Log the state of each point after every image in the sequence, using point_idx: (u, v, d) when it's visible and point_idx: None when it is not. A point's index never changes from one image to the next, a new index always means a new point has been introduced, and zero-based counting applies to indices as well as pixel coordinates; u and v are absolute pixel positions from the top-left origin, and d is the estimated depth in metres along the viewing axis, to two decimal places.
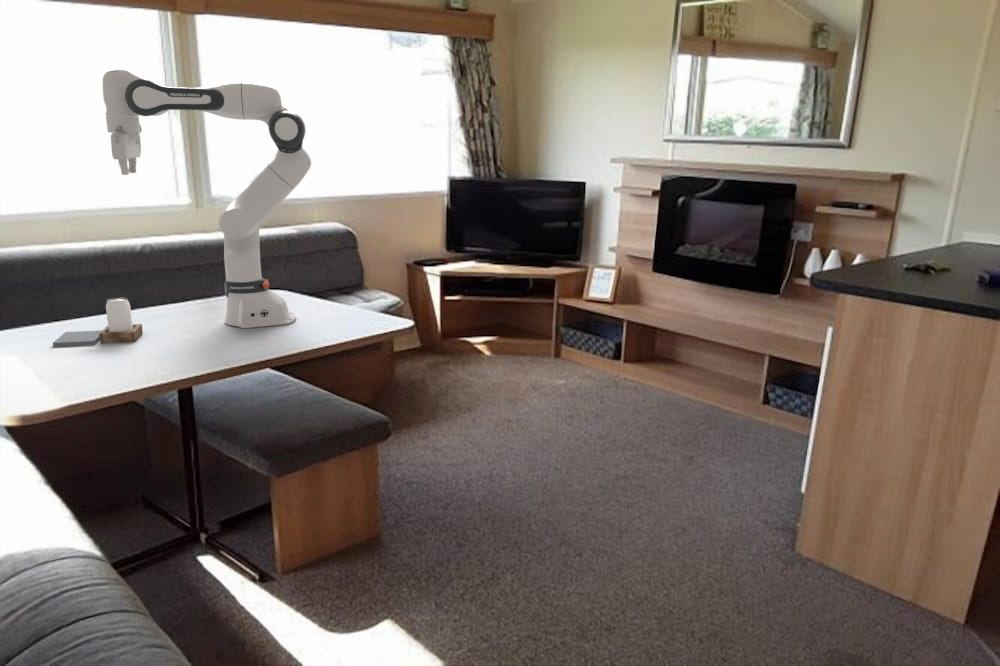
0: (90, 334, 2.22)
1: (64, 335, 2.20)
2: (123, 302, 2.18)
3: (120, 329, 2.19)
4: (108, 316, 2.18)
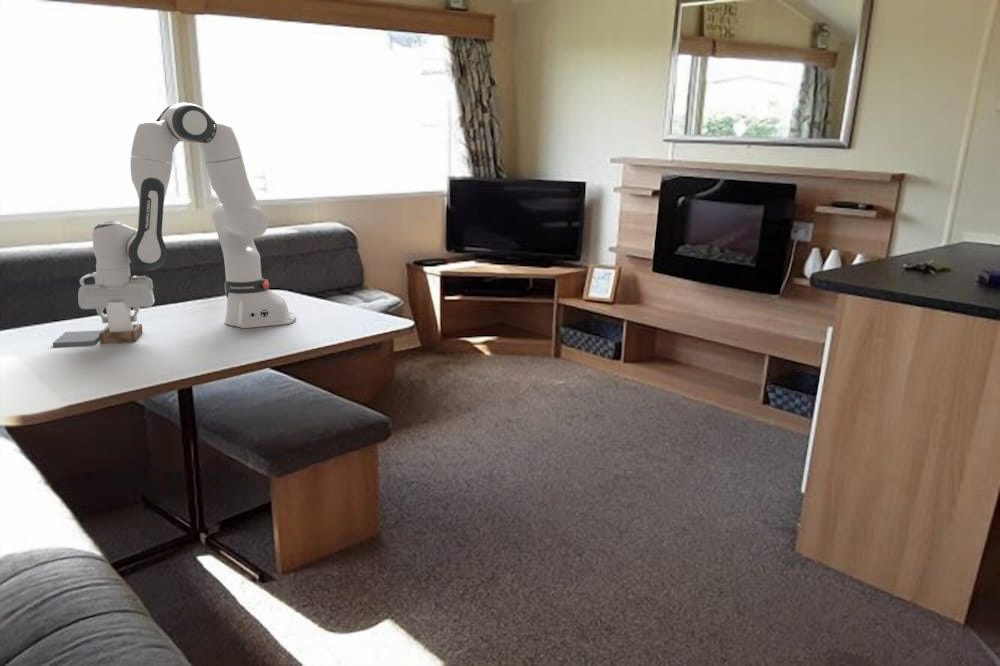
0: (90, 334, 2.22)
1: (64, 335, 2.20)
2: None
3: (120, 329, 2.19)
4: (108, 316, 2.18)
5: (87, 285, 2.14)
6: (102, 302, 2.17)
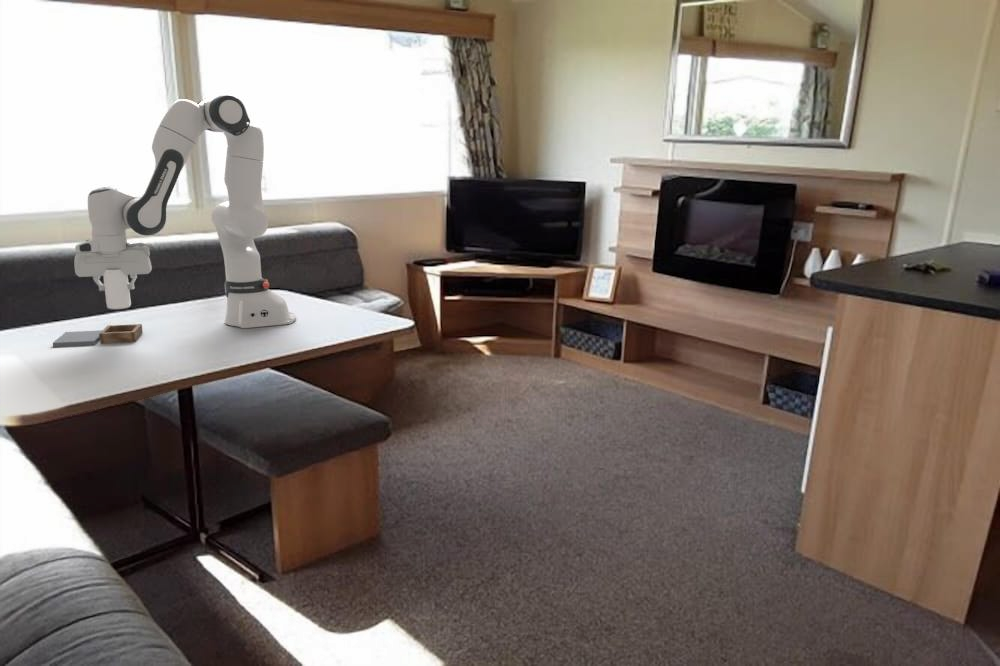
0: (90, 334, 2.22)
1: (64, 335, 2.20)
2: (120, 270, 2.16)
3: (117, 297, 2.16)
4: (105, 284, 2.16)
5: (83, 252, 2.11)
6: (99, 270, 2.15)
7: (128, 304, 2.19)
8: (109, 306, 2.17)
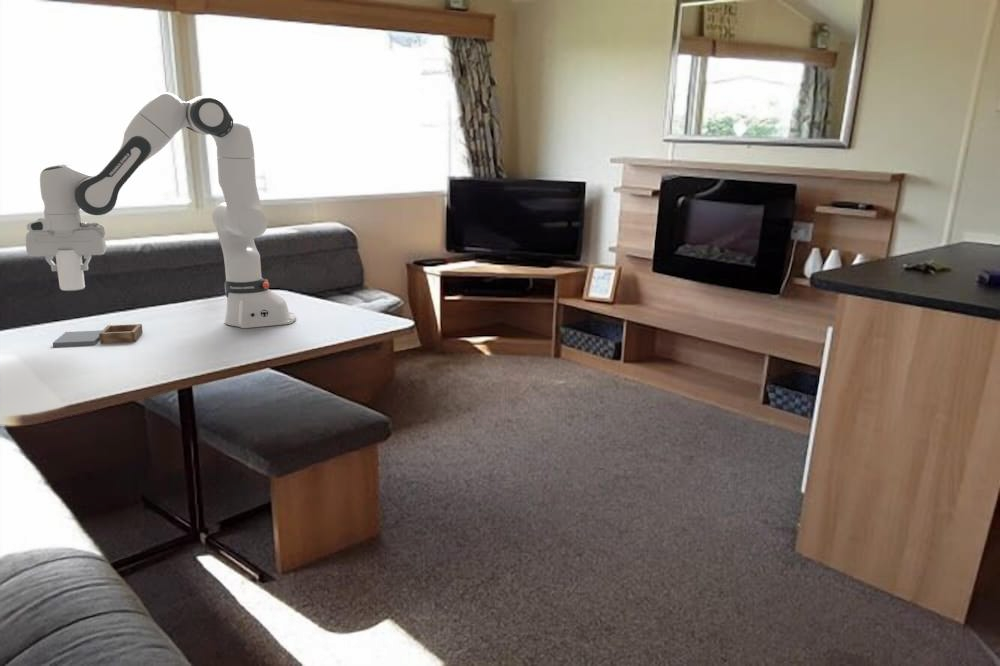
0: (90, 334, 2.22)
1: (64, 335, 2.20)
2: (73, 251, 2.12)
3: (70, 278, 2.12)
4: (58, 265, 2.11)
5: (35, 231, 2.07)
6: (51, 249, 2.10)
7: (81, 286, 2.15)
8: (62, 287, 2.13)
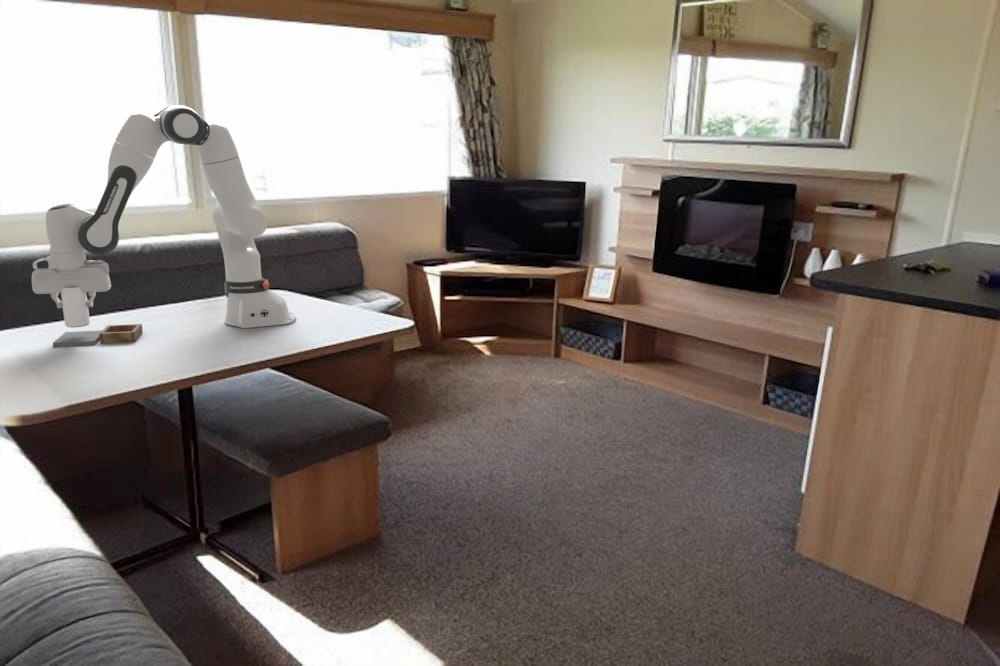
0: (90, 334, 2.22)
1: (64, 335, 2.20)
2: None
3: (75, 315, 2.15)
4: (63, 302, 2.14)
5: (40, 269, 2.10)
6: (57, 287, 2.13)
7: (86, 322, 2.18)
8: (67, 324, 2.16)
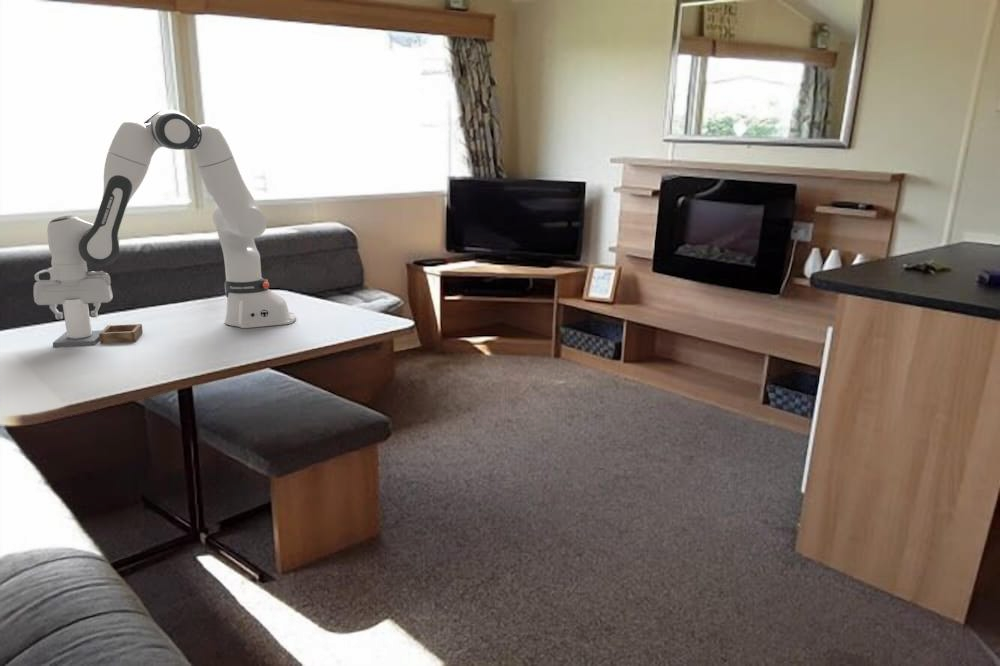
0: None
1: (64, 335, 2.20)
2: (80, 300, 2.15)
3: (77, 327, 2.16)
4: (65, 314, 2.15)
5: (42, 280, 2.11)
6: (59, 298, 2.14)
7: (88, 334, 2.19)
8: (69, 336, 2.17)
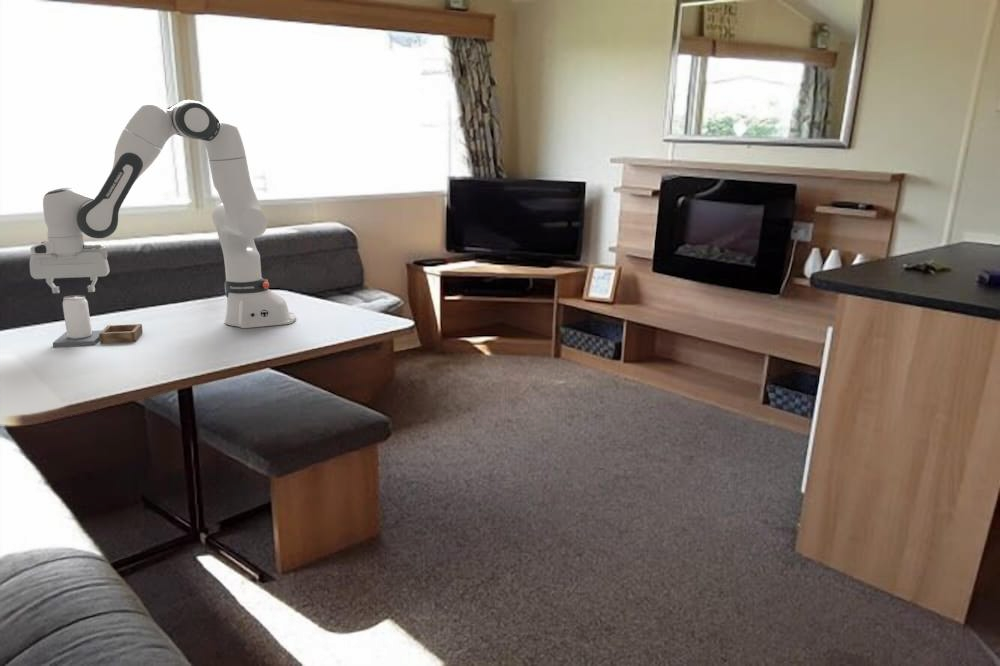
0: None
1: (64, 335, 2.20)
2: (80, 300, 2.15)
3: (77, 327, 2.16)
4: (65, 314, 2.15)
5: (38, 254, 2.09)
6: (55, 272, 2.12)
7: (88, 334, 2.19)
8: (69, 336, 2.17)
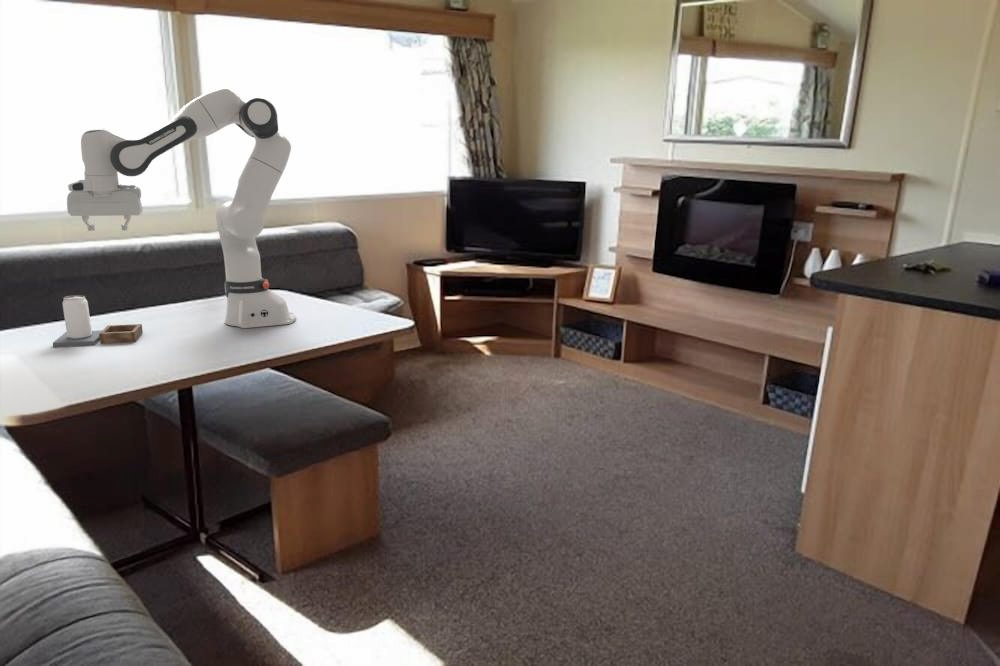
0: None
1: (64, 335, 2.20)
2: (80, 300, 2.15)
3: (77, 327, 2.16)
4: (65, 314, 2.15)
5: (76, 191, 2.17)
6: (91, 209, 2.21)
7: (88, 334, 2.19)
8: (69, 336, 2.17)
